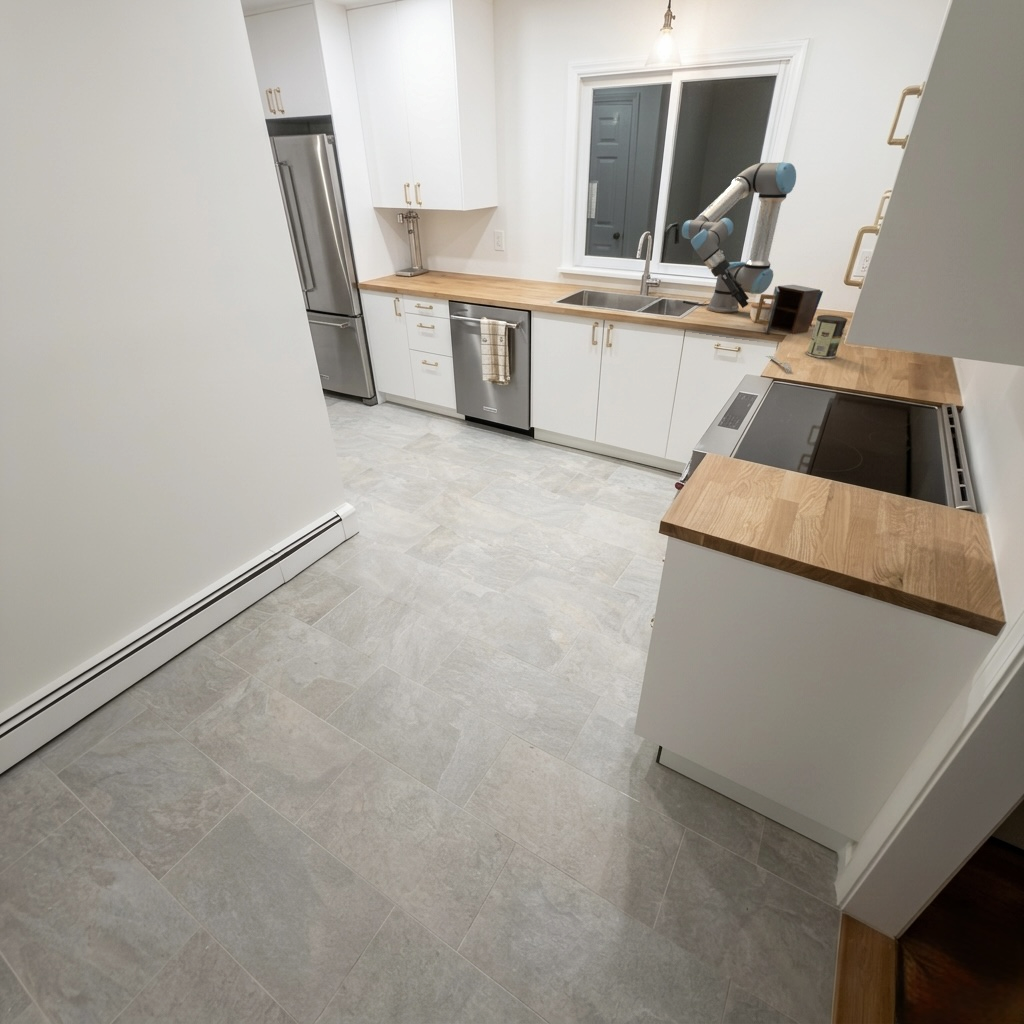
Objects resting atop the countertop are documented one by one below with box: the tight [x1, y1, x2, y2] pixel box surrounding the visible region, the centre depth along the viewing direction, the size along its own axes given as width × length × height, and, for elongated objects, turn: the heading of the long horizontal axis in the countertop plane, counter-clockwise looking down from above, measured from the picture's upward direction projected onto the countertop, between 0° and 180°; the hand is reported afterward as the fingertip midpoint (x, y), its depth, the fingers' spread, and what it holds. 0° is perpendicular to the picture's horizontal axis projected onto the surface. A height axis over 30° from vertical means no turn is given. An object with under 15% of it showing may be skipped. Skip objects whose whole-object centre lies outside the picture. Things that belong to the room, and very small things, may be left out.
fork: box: [765, 355, 793, 374], centre depth 198 cm, size 3×21×3 cm, turn 178°
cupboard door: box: [753, 285, 779, 335], centre depth 239 cm, size 7×14×18 cm, turn 160°
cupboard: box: [770, 284, 821, 335], centre depth 240 cm, size 10×14×18 cm
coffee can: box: [806, 314, 848, 360], centre depth 206 cm, size 10×10×14 cm
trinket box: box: [749, 300, 771, 323], centre depth 256 cm, size 11×11×9 cm
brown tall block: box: [810, 290, 824, 326], centre depth 251 cm, size 7×7×15 cm
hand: (745, 303), depth 236 cm, fingers open, 13 cm apart
